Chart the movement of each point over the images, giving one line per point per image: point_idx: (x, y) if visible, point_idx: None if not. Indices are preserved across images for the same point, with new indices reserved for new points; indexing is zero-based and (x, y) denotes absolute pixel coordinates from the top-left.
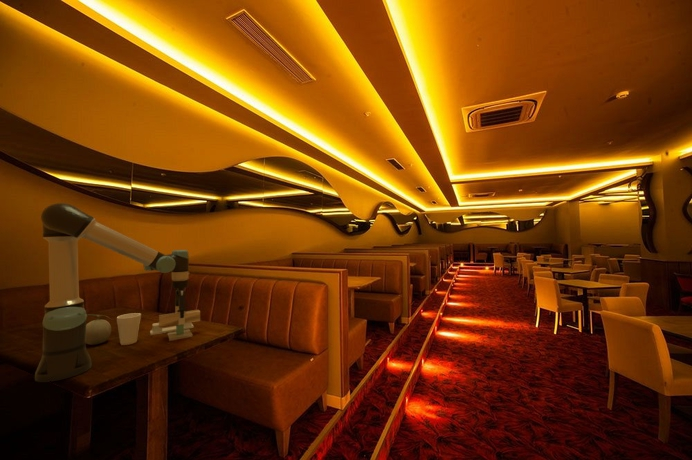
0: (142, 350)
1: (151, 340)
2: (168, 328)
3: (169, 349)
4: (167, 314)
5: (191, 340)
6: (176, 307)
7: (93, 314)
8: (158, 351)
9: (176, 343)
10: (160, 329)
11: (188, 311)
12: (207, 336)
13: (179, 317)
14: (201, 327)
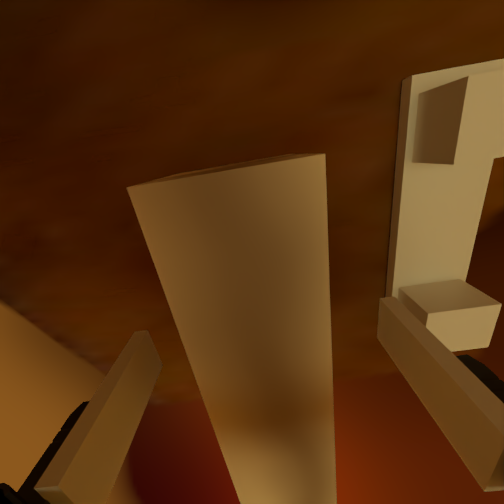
0: (44, 72)
1: (256, 106)
2: (449, 202)
3: (32, 235)
4: (290, 286)
5: (151, 321)
6: (485, 428)
7: None
8: (7, 181)
9: (127, 261)
10: (423, 151)
11: (307, 461)
12: (186, 375)
13: (96, 399)
14: (358, 356)
